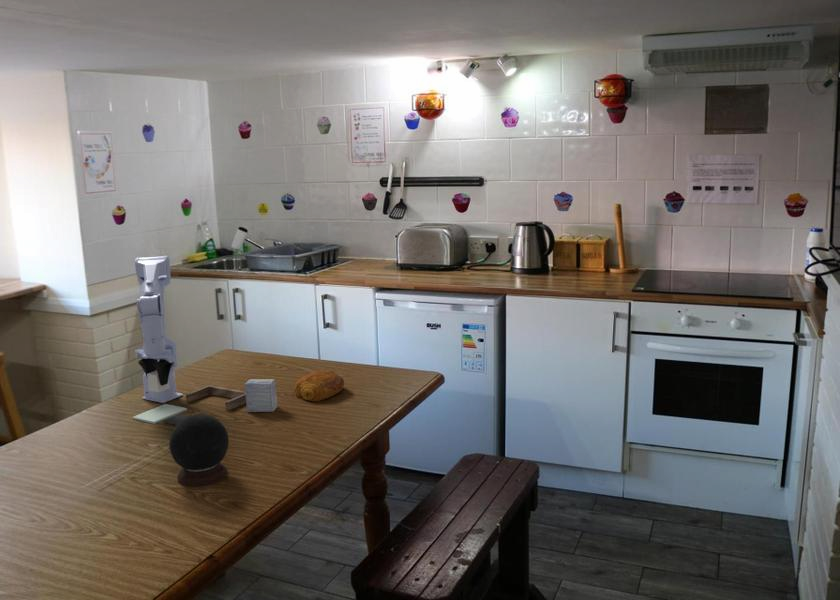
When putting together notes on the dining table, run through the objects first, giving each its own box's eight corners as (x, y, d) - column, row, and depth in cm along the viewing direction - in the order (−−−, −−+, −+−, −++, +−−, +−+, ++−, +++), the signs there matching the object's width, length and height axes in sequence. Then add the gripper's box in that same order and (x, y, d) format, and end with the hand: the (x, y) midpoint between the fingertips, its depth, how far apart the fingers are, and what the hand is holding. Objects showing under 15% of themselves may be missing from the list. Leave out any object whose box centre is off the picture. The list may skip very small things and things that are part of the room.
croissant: (352, 396, 234) (353, 371, 233) (319, 405, 221) (321, 378, 220) (316, 388, 242) (318, 364, 241) (283, 396, 229) (284, 370, 228)
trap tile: (163, 422, 211) (163, 421, 211) (180, 415, 216) (180, 414, 216) (179, 425, 208) (178, 424, 208) (195, 418, 213) (195, 417, 213)
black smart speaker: (243, 469, 179) (238, 409, 176) (206, 493, 167) (200, 429, 164) (199, 461, 184) (193, 403, 181) (160, 483, 173) (153, 422, 170)
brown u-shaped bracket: (186, 402, 227) (185, 394, 227) (209, 392, 235) (209, 385, 235) (228, 410, 219) (227, 402, 218) (250, 400, 227) (250, 392, 226)
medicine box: (277, 407, 221) (275, 378, 219) (273, 412, 216) (271, 383, 214) (251, 407, 221) (249, 378, 220) (246, 412, 217) (244, 383, 215)
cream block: (148, 390, 215) (146, 373, 214) (159, 386, 219) (158, 369, 218) (158, 392, 213) (156, 375, 212) (169, 388, 217) (167, 371, 216)
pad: (132, 419, 215) (132, 417, 214) (165, 405, 225) (165, 403, 225) (154, 424, 210) (154, 422, 210) (187, 410, 220) (186, 408, 220)
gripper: (124, 338, 213) (129, 384, 216) (160, 343, 206) (165, 391, 209) (144, 332, 219) (149, 377, 222) (180, 337, 212) (184, 383, 215)
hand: (158, 383), depth 215 cm, fingers closed on cream block, 4 cm apart
